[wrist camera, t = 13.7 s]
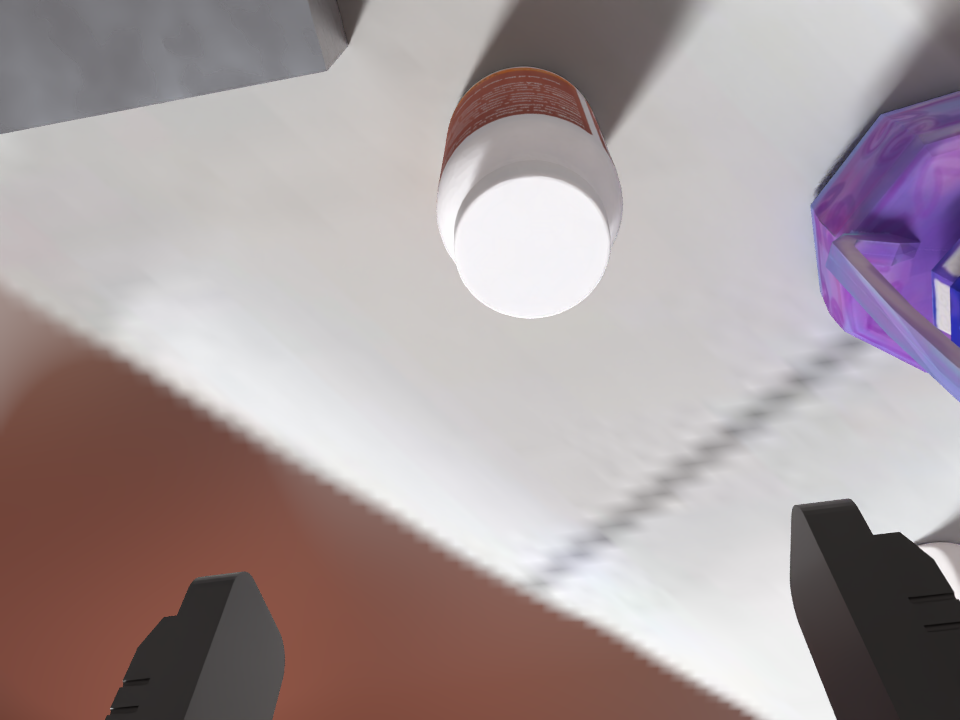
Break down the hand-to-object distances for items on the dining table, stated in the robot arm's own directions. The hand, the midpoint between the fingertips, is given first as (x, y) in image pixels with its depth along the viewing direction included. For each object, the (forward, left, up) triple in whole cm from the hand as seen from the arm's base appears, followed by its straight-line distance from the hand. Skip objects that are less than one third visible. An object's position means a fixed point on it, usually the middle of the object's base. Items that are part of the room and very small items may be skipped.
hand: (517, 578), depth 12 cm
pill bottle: (+1, +1, -25) cm, 25 cm away
